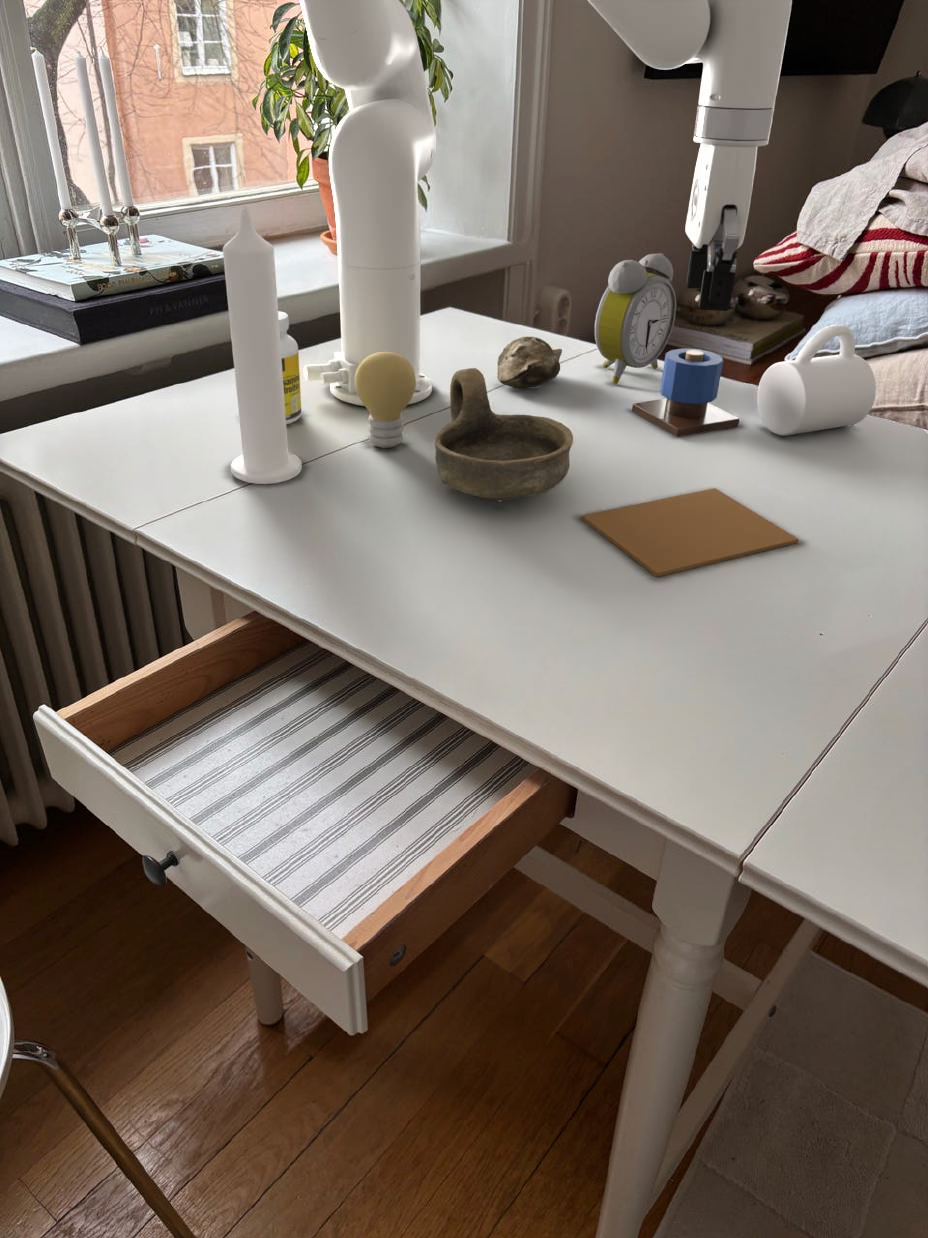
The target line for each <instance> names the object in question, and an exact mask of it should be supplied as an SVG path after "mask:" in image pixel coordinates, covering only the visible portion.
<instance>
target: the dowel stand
mask: <svg viewBox="0 0 928 1238" xmlns="http://www.w3.org/2000/svg"><path fill="white" fill-rule="evenodd" d="M703 356H704V353H703V352H701V351H697V350H689V351H687V352H686V357H685V360H687V361H692V362H703ZM631 412H633V413H634V414H635V415H637V416H640V417H641V418H643V419H645V420H646V421H648V422H650V423H652V424H653V425H655V426H656V427H659V428H660V429H662V430H663V431H665V432H668V433H669V434H671V435H672V436H674V437H676V438H679V437H686V436H690V435H697V434H703V433H707V432H713V431H720V430H725V429H731V428H736V427H737V428H738V426H739V424H740V418H739V417H737V416H735V415H733V414H731V413H729V412H727V411H725V410H723V409H721V408H720V407H718V406H715V405H713V404H711V402H709V403H702V404H689V403H681V402H677V401H672V400H670V399H668V398H666V397H665V398H660V399H654V400H648V401H647V400H646V401H641V402H640V401H639V402H634V403H632V407H631Z"/></svg>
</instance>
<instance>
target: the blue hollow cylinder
mask: <svg viewBox="0 0 928 1238" xmlns="http://www.w3.org/2000/svg"><path fill="white" fill-rule="evenodd" d="M689 350H697V351H701V352H703V353H704V356H703V362H692V361H687V360H685V357H686V352H687V351H689ZM664 355H665V357H664V362H663V368H662V369H663V370H662V376H661V382H660V390H659V391H660V395H661V396H663V397H664V398H665V399H666V398H668V399H670V400H672V401H677V402H681V403H689V404H702V403H713V402H714V401H715V400H716V399H717V398H718V393H719V389H720V388H719V387H720V382H721V378H722V377H721V376H722V371H723V365H724V359H723V357H722V356H721V355H719V354H717V353H715V352H712V351H709V350H703V349H698V348H677V349H670V350H669V351H668V352H665V354H664Z"/></svg>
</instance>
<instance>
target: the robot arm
mask: <svg viewBox="0 0 928 1238" xmlns="http://www.w3.org/2000/svg"><path fill="white" fill-rule="evenodd" d="M587 1H588V3H589V4H590V5H591V6H592V7H593V8H594V10H595V11H596V12H597V13H598V14H599V15H600V16H601V18H602V19H604V20H605V22H606V23H607V24H608V25H609V26H610V28H611V29H613V31H614V32H615V33H616V34H617V35H618V36H619V37H620V40H622V41H623V42H624V43H625V45H626V46H627V47H628V48H629V49H630V50H631V51H632V52H633V54H635V56H636V57H637V58H638V59H639V60H640V61H641V62H642V63H644V64H645V65H646V66H649V67H651V68H653V69H657V70H664V71H665V70H667V71H668V70H672V69H673V70H674V69H678V68H680V67H682V66H683V65H685V64H697V63H698V64H699V63H702V74H701V80H700V88H699V96H698V102H697V103H698V104H697V110H696V118H695V125H694V131H693V132H694V133H693V140H692V141H693V142H694V143H699V144H700V147H699V149H698V154H697V159H696V163H695V168H694V174H693V180H692V186H691V192H690V196H689V197H690V199H689V204H688V210H687V214H686V220H685V221H686V222H685V229H684V231H685V234H686V236H687V237H688V239H689V240H690V242H691V243H692V250H691V251H690V256H689V263H688V270H687V276H686V287H687V288H688V289H699V290H700V293H699V294H700V295H699V302H698V308H699V310H700V311H713V312H728V311H729V310H730V308H731V304H732V303H731V302H732V296H733V289H734V285H735V277H736V269H737V258H738V255H737V254H738V252H737V249H739V248H740V247H741V246H742V245H743V244H744V239H745V235H746V230H747V224H748V219H749V214H750V207H751V199H752V193H753V186H754V185H753V184H754V178H755V172H756V163H757V155H758V147H763V146H764V147H765V146H768V145H769V141H770V140H769V139H770V134H771V130H772V129H771V128H772V123H773V116H774V112H775V111H774V110H775V105H776V97H777V93H778V88H779V82H780V75H781V70H782V64H783V59H784V54H785V53H784V52H785V46H786V41H787V36H788V29H789V25H790V24H789V23H790V17H791V12H792V5H793V0H587ZM299 3H300V6H301V10H302V15H303V19H304V23H305V27H306V31H307V37H308V41H309V45H310V49H311V53H312V57H313V60H314V62H315V64H316V67H317V68H318V70H319V72H320V73H321V74H322V76H323V78H325V79H326V80H327V81H328V82H329V83H331V84H332V85H334V87H337V88H340V89H343V90H344V92H345V95H346V100H347V103H348V107H349V108H348V109H349V112H348V113H347V114H346V115H345V116H343V117H342V119H341V120H340V121H339V123H338V124H337V126H336V128H335V130H334V132H333V135H332V137H331V141H330V146H329V151H328V152H329V154H328V167H329V169H328V170H329V177H330V178H329V179H330V185H331V192H332V196H333V197H332V198H333V206H334V214H335V227H336V244H337V261H338V285H339V288H338V289H339V316H340V343H341V344H340V345H341V351H334V353H333V356H334V357H333V359H329V360H328V361H327V363H321V364H319V363H312V364H305V365H303V367H302V373H303V379H304V380H305V382H315V381H320V384H321V385H329V389H330V393H331V395H332V396H334V397H335V398H336V399H338V400H340V401H342V402H345V403H348V404H352V405H356V406H362V407H365V405H364V404H363V403H362V401H361V400H360V398H359V396H358V394H357V391H356V387H355V375H356V371H357V369H358V366H359V365H360V363H361V362H362V361H363V360H364V359H365V358H366V357H368V356H370V355H372V354H374V353H377V352H392V353H396V354H398V355H400V356H402V357H404V358H405V359H407V360H408V361H409V362H410V364H411V366H412V367H413V370H414V373H415V379H416V385H415V391H414V394H413V396H412V398H411V400H410V402H409V403H408V405H413V404H416V403H419V402H422V401H423V400H426V399H427V398H428V397H429V396H430V395H431V394H432V391H433V382H432V380H431V379H430V377H429V376H427V375H425V374H424V373H422V372H420V371H421V275H422V273H421V269H422V267H421V266H422V265H421V262H422V261H421V218H420V206H419V205H420V204H419V187H418V186H419V182H420V181H421V180H422V179H423V178H424V177H425V176H426V175H427V173H428V172H429V171H430V169H431V167H432V164H433V162H434V160H435V157H436V151H437V131H436V126H435V121H434V115H433V111H432V105H431V99H430V95H429V90H428V85H427V81H426V75H425V70H424V65H423V61H422V55H421V51H420V50H421V49H420V46H419V45H420V44H419V40H418V37H417V32H416V30H415V27H414V24H413V21H412V19H411V17H410V14H409V12H408V10H407V9H406V7H405V6H404V5H403V3H402V2H401V1H400V0H299ZM408 405H407V406H408Z"/></svg>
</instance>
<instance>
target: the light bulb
mask: <svg viewBox="0 0 928 1238" xmlns="http://www.w3.org/2000/svg"><path fill="white" fill-rule="evenodd" d="M415 385H416V379H415V373H414V370H413V367H412V366H411V364H410V362H409V361H408V360H407V359H405V358H404V357H402V356H400V355H398V354H396V353H392V352H377V353H374V354H372V355H370V356H368V357H366V358H365V359H364V360H363V361H362V362H361V363H360V365H359V366H358V369H357V371H356V375H355V387H356V391H357V394H358V396H359V398H360V400H361V401H362V403H363V404H364V405H365V406H364V407H365V408H366V409H367V410H368V412H369V416H368V417H367V418H368V432H369V433H368V440H369V442H370V443H372V444H373V445H374V446H375V447H378V448H384V449H389V448H394V447H397V446H398V445H400V444H401V443H402V442H403V441H404V433H403V432H404V416H403V414H402V413H403V411H404V410H405V409H406V407H407V406H408V403H409V402H410V400H411V398H412V396H413V394H414V391H415Z"/></svg>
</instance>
